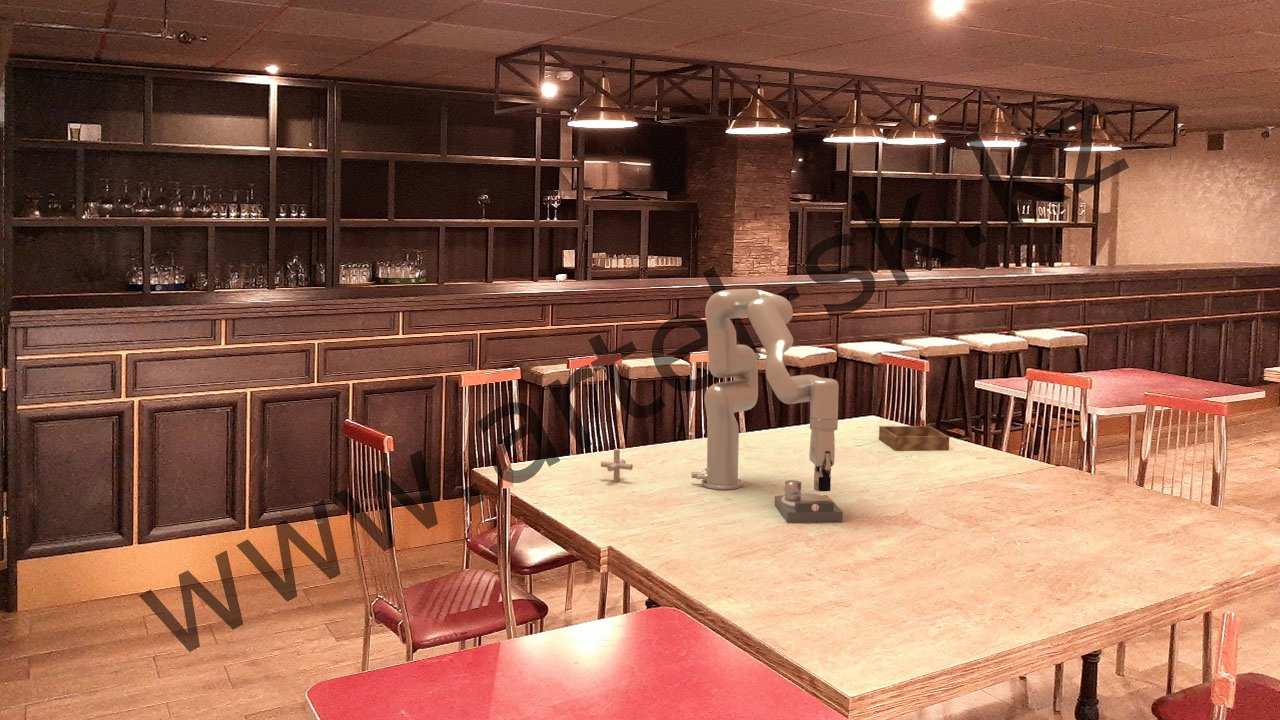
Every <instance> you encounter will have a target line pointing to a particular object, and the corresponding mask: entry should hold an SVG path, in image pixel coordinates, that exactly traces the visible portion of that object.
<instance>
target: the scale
mask: <svg viewBox="0 0 1280 720" xmlns="http://www.w3.org/2000/svg"><path fill="white" fill-rule="evenodd" d="M774 507H775V508H776V509H777V511H778V512H779V515H781V516H782V518H783V519H784V521H785V522H786V523H790V524H791V523H793V524H794V523H842V522H843V513H844V511H843V509H841V508H840V507H839V506H838V505H837V504H836V503H835V502H834V501H833V499H832V498H830V497H829V496H828V495H825V494H822V495H821V494H818V493H809V492H808V493H807V492H806V493H805V492H803V493H802V492H801V501H795V502H789V501H786V500H785V495H774Z"/></svg>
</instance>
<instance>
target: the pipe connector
mask: <svg viewBox="0 0 1280 720" xmlns="http://www.w3.org/2000/svg"><path fill="white" fill-rule="evenodd" d="M620 450H621V449H619V448H614V449H613V461H605V460H604V461H603V460H602V461H601V462H600V467H602V468H607V471H608V472H613V482H614V483H620V481H621V480H620V476H621V473H620V470H629V471H632V470H633V468H634V466H633V465H634V464H632V463H626V460H625V459H624V458H620V454H621V453H620V452H621V451H620Z"/></svg>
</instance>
